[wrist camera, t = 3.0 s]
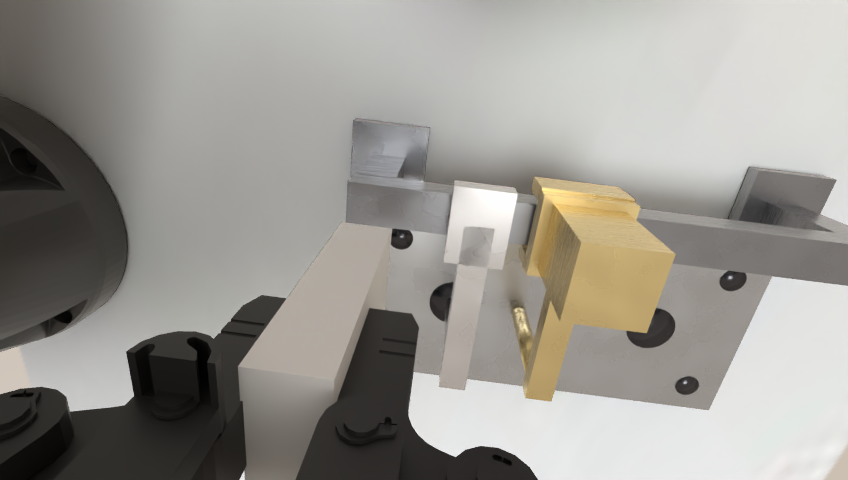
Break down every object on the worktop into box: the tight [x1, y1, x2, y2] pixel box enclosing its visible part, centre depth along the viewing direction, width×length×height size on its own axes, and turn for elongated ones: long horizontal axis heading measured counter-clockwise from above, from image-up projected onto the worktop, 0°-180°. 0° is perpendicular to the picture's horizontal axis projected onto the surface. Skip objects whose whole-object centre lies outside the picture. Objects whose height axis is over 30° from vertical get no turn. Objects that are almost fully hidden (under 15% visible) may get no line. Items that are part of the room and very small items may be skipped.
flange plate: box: [368, 225, 772, 410], centre depth 27 cm, size 23×11×1 cm, turn 84°
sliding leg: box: [511, 177, 676, 401], centre depth 19 cm, size 4×10×10 cm, turn 174°
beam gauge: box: [346, 118, 848, 390], centre depth 22 cm, size 25×10×8 cm, turn 84°
